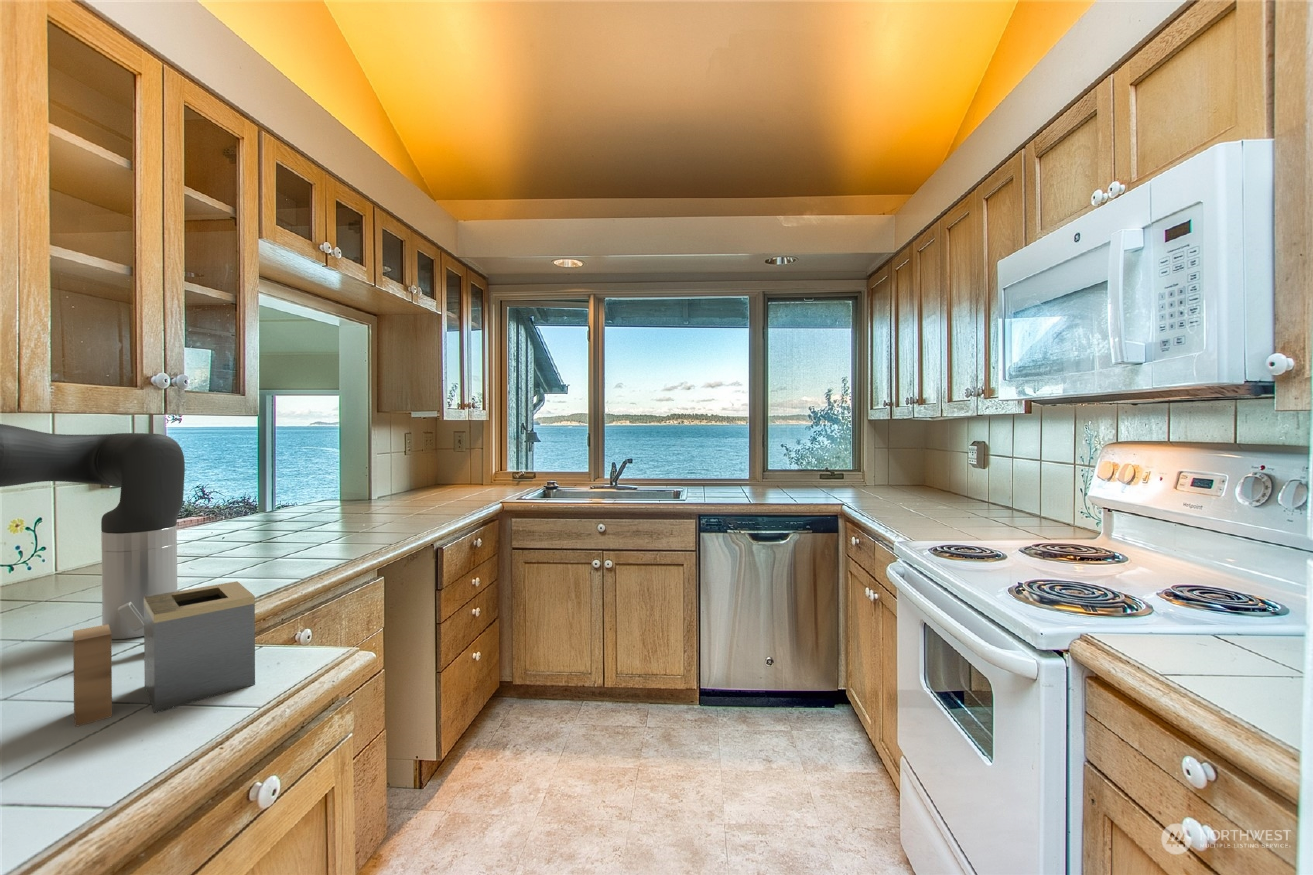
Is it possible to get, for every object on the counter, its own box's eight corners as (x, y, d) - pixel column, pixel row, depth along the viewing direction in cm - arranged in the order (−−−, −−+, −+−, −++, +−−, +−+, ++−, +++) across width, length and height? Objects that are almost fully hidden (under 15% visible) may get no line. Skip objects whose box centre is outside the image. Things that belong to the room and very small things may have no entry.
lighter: (182, 644, 86) (182, 594, 86) (181, 648, 84) (180, 597, 84) (120, 655, 82) (119, 602, 81) (117, 659, 80) (117, 605, 80)
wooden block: (73, 712, 66) (73, 630, 65) (109, 703, 68) (108, 624, 68) (75, 726, 63) (74, 641, 62) (112, 716, 65) (111, 633, 65)
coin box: (144, 685, 72) (143, 596, 72) (237, 662, 80) (237, 581, 79) (154, 713, 66) (153, 615, 65) (255, 684, 73) (254, 596, 73)
